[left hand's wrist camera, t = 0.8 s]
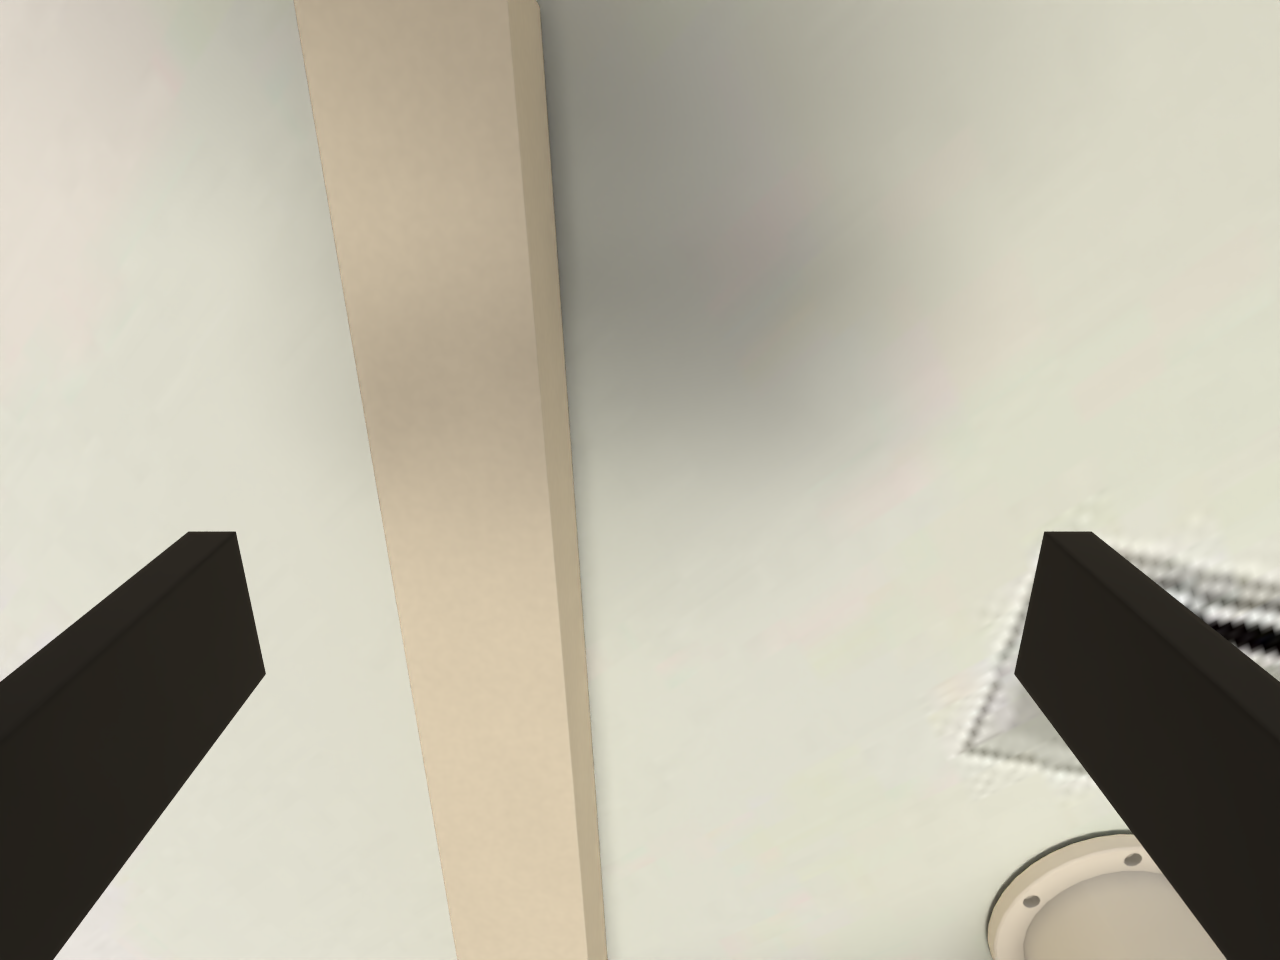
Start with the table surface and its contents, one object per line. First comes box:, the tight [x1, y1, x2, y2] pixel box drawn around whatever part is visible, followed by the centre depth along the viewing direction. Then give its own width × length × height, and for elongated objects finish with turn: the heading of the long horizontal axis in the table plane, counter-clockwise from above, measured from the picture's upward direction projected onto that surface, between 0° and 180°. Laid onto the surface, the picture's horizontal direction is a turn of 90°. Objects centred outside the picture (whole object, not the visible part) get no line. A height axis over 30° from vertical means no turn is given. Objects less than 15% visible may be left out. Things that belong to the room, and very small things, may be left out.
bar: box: [294, 0, 607, 960], centre depth 36 cm, size 69×6×8 cm, turn 2°
